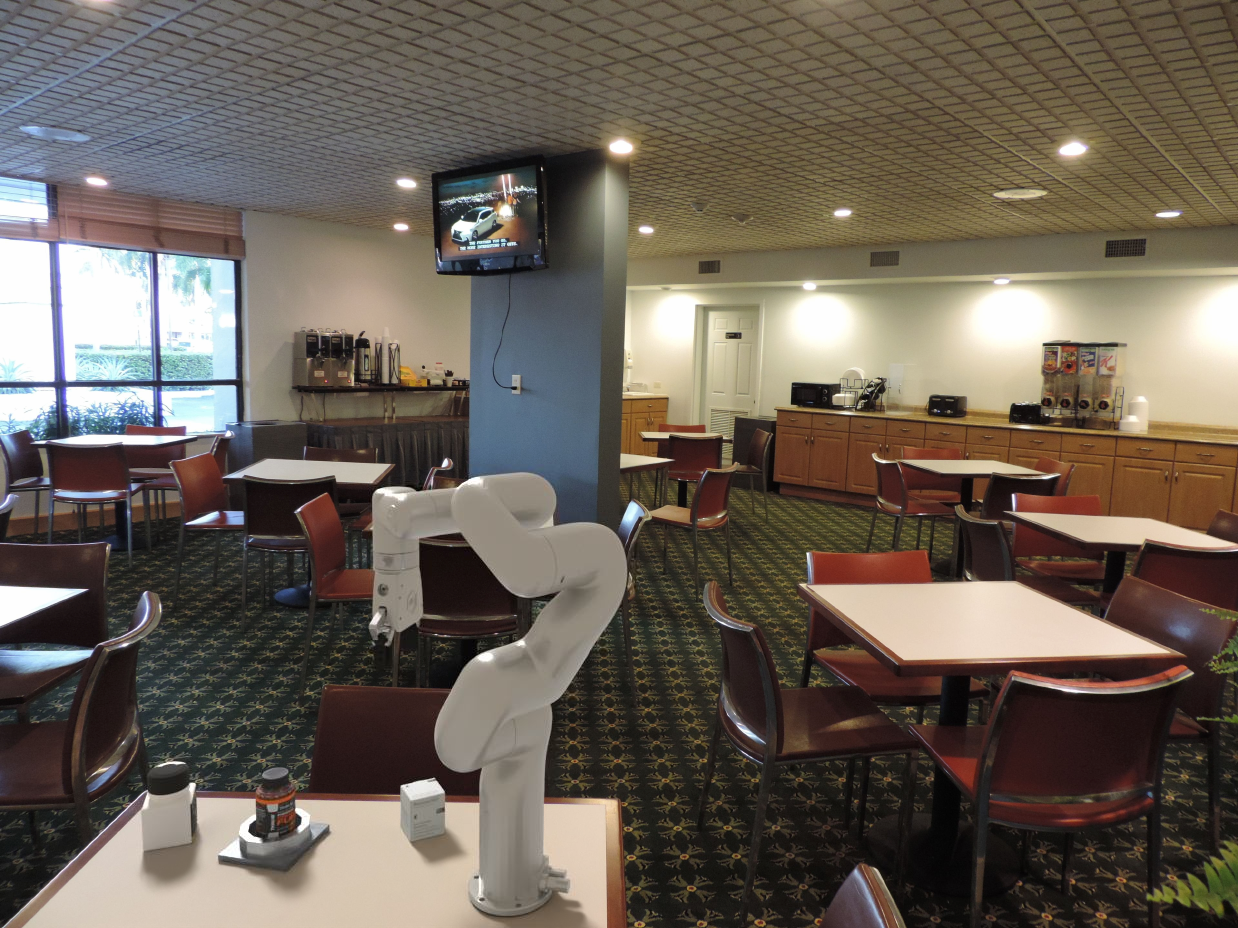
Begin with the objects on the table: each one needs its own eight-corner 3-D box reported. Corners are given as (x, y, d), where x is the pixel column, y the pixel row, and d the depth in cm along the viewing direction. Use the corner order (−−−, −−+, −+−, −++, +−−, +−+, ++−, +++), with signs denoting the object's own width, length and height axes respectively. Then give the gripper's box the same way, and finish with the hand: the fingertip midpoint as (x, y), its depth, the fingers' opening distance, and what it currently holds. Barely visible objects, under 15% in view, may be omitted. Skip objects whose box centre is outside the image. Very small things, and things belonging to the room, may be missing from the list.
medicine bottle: (192, 843, 133) (190, 773, 131) (142, 852, 130) (139, 780, 129) (197, 821, 139) (195, 754, 138) (149, 829, 137) (146, 760, 135)
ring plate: (329, 829, 138) (329, 809, 137) (286, 871, 126) (286, 850, 126) (266, 820, 140) (265, 800, 140) (218, 860, 128) (217, 839, 128)
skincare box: (410, 843, 134) (409, 800, 133) (399, 825, 139) (399, 784, 139) (446, 833, 137) (445, 791, 137) (434, 816, 143) (434, 776, 142)
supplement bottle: (281, 851, 129) (280, 783, 128) (248, 846, 130) (246, 779, 129) (303, 831, 135) (302, 766, 134) (271, 826, 136) (269, 762, 135)
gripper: (393, 573, 129) (394, 677, 131) (438, 551, 146) (438, 643, 148) (349, 570, 131) (351, 673, 132) (399, 548, 147) (400, 640, 149)
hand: (397, 657), depth 140 cm, fingers open, 9 cm apart
